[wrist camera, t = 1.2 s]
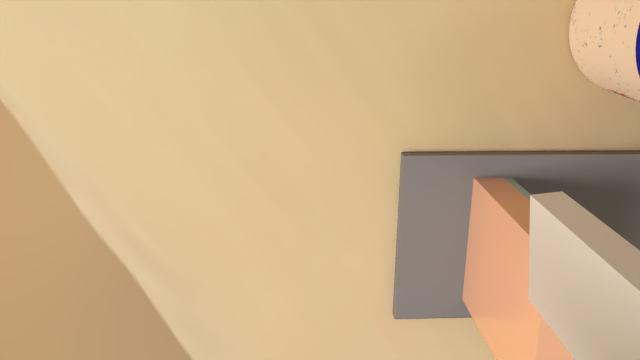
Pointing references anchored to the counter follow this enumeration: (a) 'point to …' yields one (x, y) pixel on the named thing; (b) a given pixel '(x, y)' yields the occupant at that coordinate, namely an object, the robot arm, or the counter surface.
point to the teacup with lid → (608, 44)
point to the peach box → (504, 274)
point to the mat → (455, 206)
